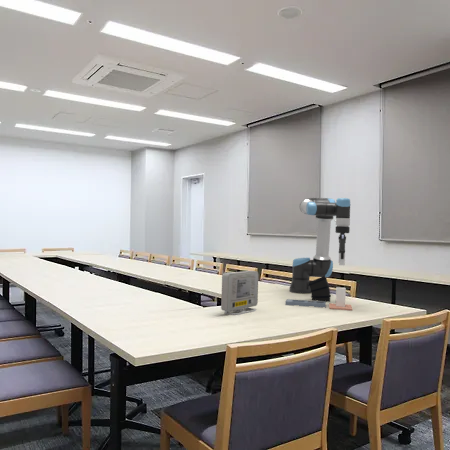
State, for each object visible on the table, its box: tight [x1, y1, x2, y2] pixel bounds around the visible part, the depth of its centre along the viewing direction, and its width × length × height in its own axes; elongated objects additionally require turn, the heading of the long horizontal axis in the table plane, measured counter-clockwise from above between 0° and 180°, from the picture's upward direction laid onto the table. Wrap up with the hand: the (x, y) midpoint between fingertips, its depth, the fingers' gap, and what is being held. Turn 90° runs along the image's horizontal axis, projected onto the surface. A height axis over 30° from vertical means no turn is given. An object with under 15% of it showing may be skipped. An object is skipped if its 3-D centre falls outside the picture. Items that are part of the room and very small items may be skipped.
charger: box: [335, 286, 347, 307], centre depth 238 cm, size 4×5×10 cm
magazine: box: [308, 276, 332, 302], centre depth 260 cm, size 4×13×15 cm, turn 66°
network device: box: [220, 270, 259, 316], centre depth 217 cm, size 26×9×20 cm, turn 141°
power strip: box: [284, 298, 327, 308], centre depth 242 cm, size 8×22×2 cm, turn 77°
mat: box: [328, 302, 353, 311], centre depth 238 cm, size 14×12×1 cm
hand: (341, 264), depth 238 cm, fingers open, 13 cm apart
